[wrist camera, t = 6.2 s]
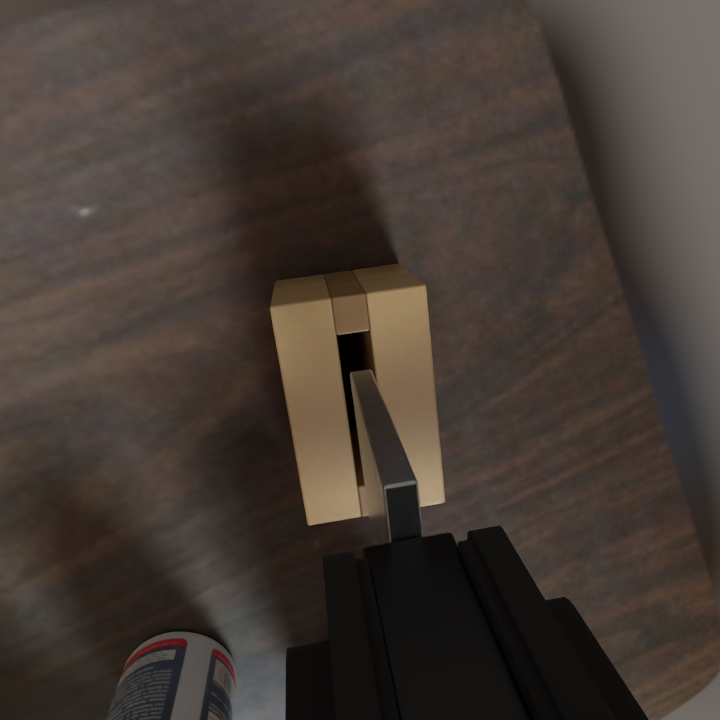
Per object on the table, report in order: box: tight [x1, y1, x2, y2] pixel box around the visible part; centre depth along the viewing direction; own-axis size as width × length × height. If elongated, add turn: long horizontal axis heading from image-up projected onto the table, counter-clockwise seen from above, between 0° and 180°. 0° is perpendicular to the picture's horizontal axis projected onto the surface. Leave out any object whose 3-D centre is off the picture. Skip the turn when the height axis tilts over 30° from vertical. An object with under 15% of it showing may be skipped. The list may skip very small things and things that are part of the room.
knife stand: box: [270, 264, 445, 525], centre depth 22 cm, size 8×5×5 cm, turn 7°
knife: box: [350, 369, 533, 720], centre depth 10 cm, size 4×2×12 cm, turn 7°
